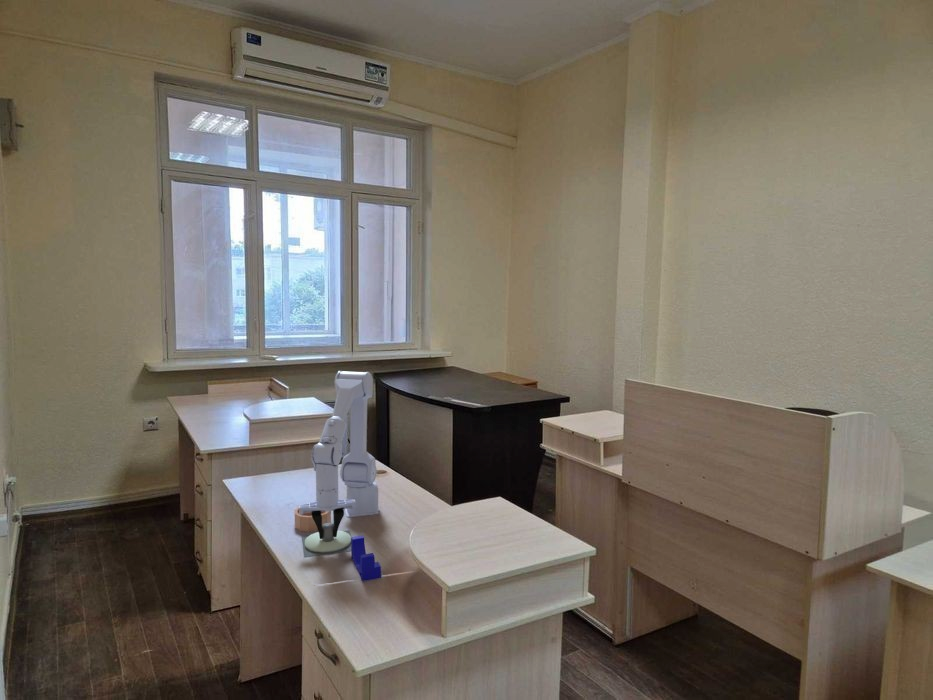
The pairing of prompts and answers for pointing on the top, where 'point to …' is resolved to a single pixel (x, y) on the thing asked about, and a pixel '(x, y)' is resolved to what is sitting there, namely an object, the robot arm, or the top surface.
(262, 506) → the top surface
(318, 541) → the lid
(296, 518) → the bowl
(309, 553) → the mat
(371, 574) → the blue stepped bracket
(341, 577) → the top surface
